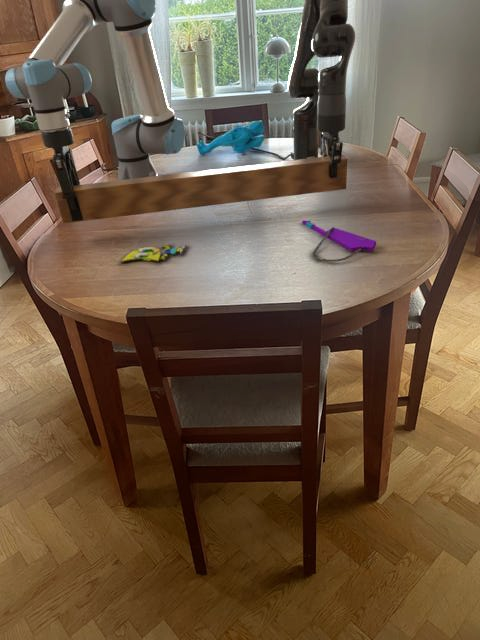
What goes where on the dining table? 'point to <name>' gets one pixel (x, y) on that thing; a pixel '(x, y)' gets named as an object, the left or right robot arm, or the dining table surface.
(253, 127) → the toy
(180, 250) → the toy
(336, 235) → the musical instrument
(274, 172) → the post
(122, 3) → the left robot arm
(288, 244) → the dining table surface
